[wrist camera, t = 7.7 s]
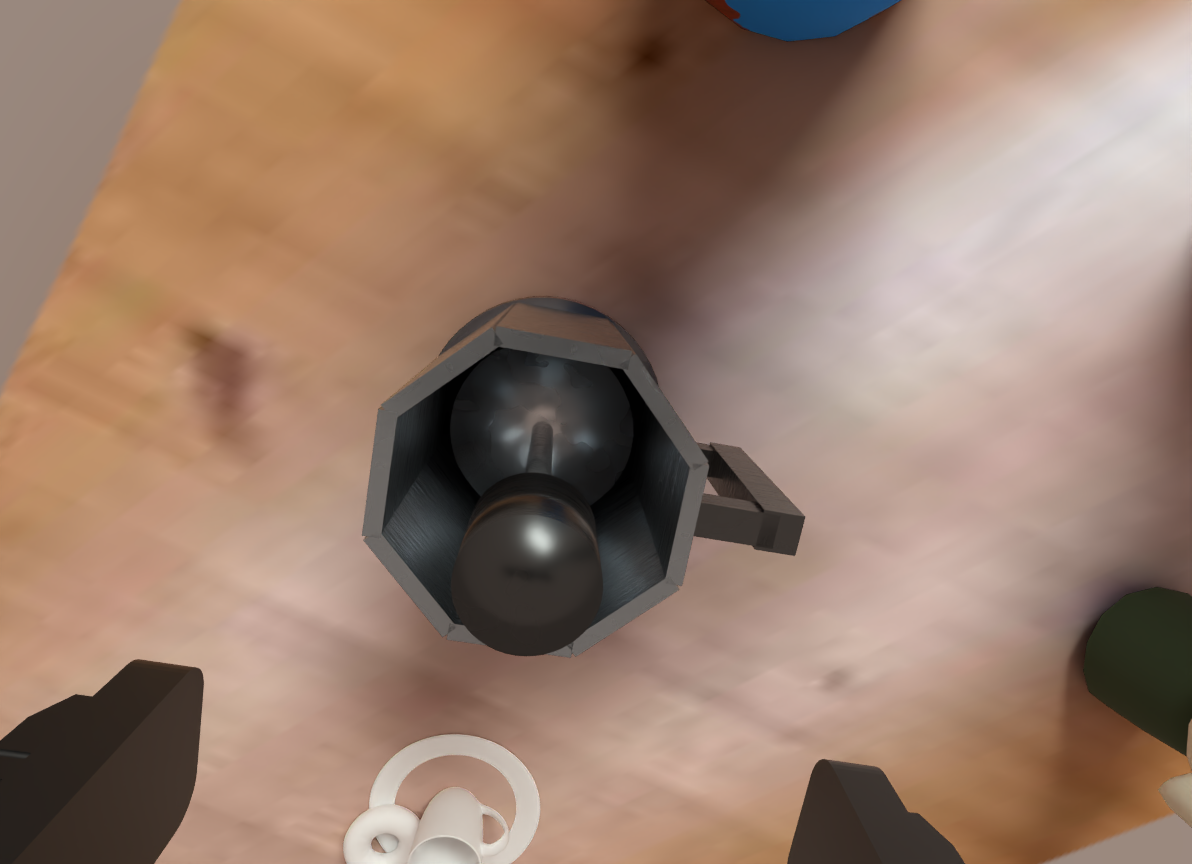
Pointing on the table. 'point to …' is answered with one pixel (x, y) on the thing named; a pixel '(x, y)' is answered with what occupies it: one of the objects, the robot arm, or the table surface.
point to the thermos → (800, 16)
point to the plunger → (535, 495)
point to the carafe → (622, 516)
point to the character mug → (1149, 674)
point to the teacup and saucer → (443, 812)
